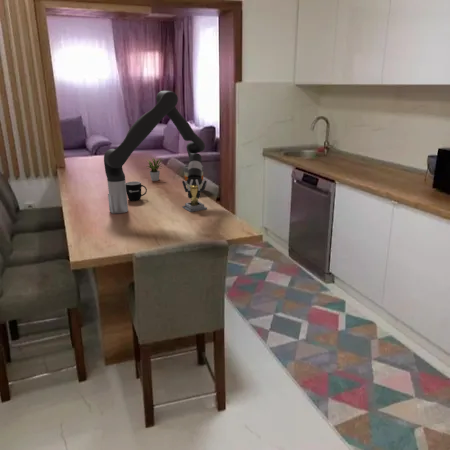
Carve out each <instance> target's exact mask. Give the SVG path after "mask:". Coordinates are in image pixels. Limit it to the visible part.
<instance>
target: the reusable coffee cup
mask: <svg viewBox="0 0 450 450" xmlns="http://www.w3.org/2000/svg"><path fill="white" fill-rule="evenodd" d="M188 166H189V164H187V165H184V166H183V172H184V181H187V179H188ZM201 166H202V181H204V170H205V169H204V165H202V164H201ZM202 186H203V184H202V183H201V184H200V186H199V187H200V189H201V188H202ZM186 187H187V189H188V188H189V184H188V183H187V185H186Z"/></svg>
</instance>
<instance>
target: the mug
mask: <svg viewBox="0 0 450 450" xmlns="http://www.w3.org/2000/svg"><path fill="white" fill-rule="evenodd" d="M142 188H144V190H145V192H144V193H143V194H142ZM147 192H148V189H147V187H146V186H145V185H143V184H142V182H141V181H135V180H133V181H127V182H126V193H127V200H129V201H130V202H137V201H138V202H139V201H140V200H141V198H142V197H143V196H145V195H146V194H147Z"/></svg>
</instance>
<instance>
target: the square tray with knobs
mask: <svg viewBox="0 0 450 450" xmlns="http://www.w3.org/2000/svg"><path fill="white" fill-rule="evenodd" d="M182 208H183V209H184V210H186V211H188V212H190V213H192V212H199V211H204V210H207V209H208V207H206V206H205V204H204V203H202V202H201V201H199V200H198V205H194V206H191V201H189V202H185V203H184V205H182Z"/></svg>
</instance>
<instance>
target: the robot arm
mask: <svg viewBox="0 0 450 450" xmlns="http://www.w3.org/2000/svg"><path fill="white" fill-rule="evenodd" d="M155 98H156V104H155V105H154V106H153V108H152V109H150V110H149V111H147V112H145V113H144V114H142V115H141V116H140V117H138V119H137V120H136V121H135V122H134V123H133V124H132V126H131V127H129V129H128V132H127V133H126V136H125V138H124V139H123V141H122V142H121V143H120V144H119V145H118V146H117V147H115V149H114V148H110V149H107V150H106V151H105V152H104V155H103V162H104V169H105V170H104V172H105V176H106V180H107V189H108V193H107V200H108V208H109V212H110V213H111V214H112V215H113V214H124V213H127V212H128V211H129V205H128V196H127V192H126V183H127V182H126V175H125V172H124V169H123V166H124V164H125V163H126V162H127V160H128V159H129V158H130V156H131V155H132V154H133V152H134V151H135V150H136V149H137V148H138V147H139V146H140V145H141V144H142V143H143V141H144V140H145V139H146V138H147V137H148V136H149V135H150V134H151V133H152V132H153V130H154V129H155V128H156V127H157V126H158V125H159V123H160V122H161V121H162V120H163V118H164V117H166V115H167V117H168V118H169V119H170V121H171V122H172V124H174V126H175V128H176V129H177V130H178V132H179V134H180V135H181V137H182V139H183V140H184V141H185V142H188V143H187V144H186V151H187V156H188V165H189V166H188V179H187V181H185V180H182V181H181V182H182V183H181V184H182V186H183V189H184V191H185V193H187V198H188V199H190V200H191V192H190V185H198V193H197V198H198V200H199V199H200V198H201V193H203V192H204V191H205V189H206V188H207V183H208V182H207V180H203V181H202V166H203V165H202V159H203V158H202V156H201V154H199V153H200V152H201V153H202V152H203V151H204V150H205V149H206V144H205V142H204V141H203V139H202V138H201V137H199V136H198V134H196V132H194V130H193V128H192V127H191V125H190V123H189V122H188V120H187V119H185V117H184V116H183V115H182V114H181V112H180V111H178V109H177V107H176V106H177V104H178V101H179V98H178V95H177V94H176V92H175V91H171V90H161V91H159V92H158V93H157V94H156V97H155ZM189 141H190V142H189ZM201 165H202V166H201ZM187 183H188V184H189V188H188V189H187ZM201 183H202V188H201V189H200V187H199V186H200V184H201Z"/></svg>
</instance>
